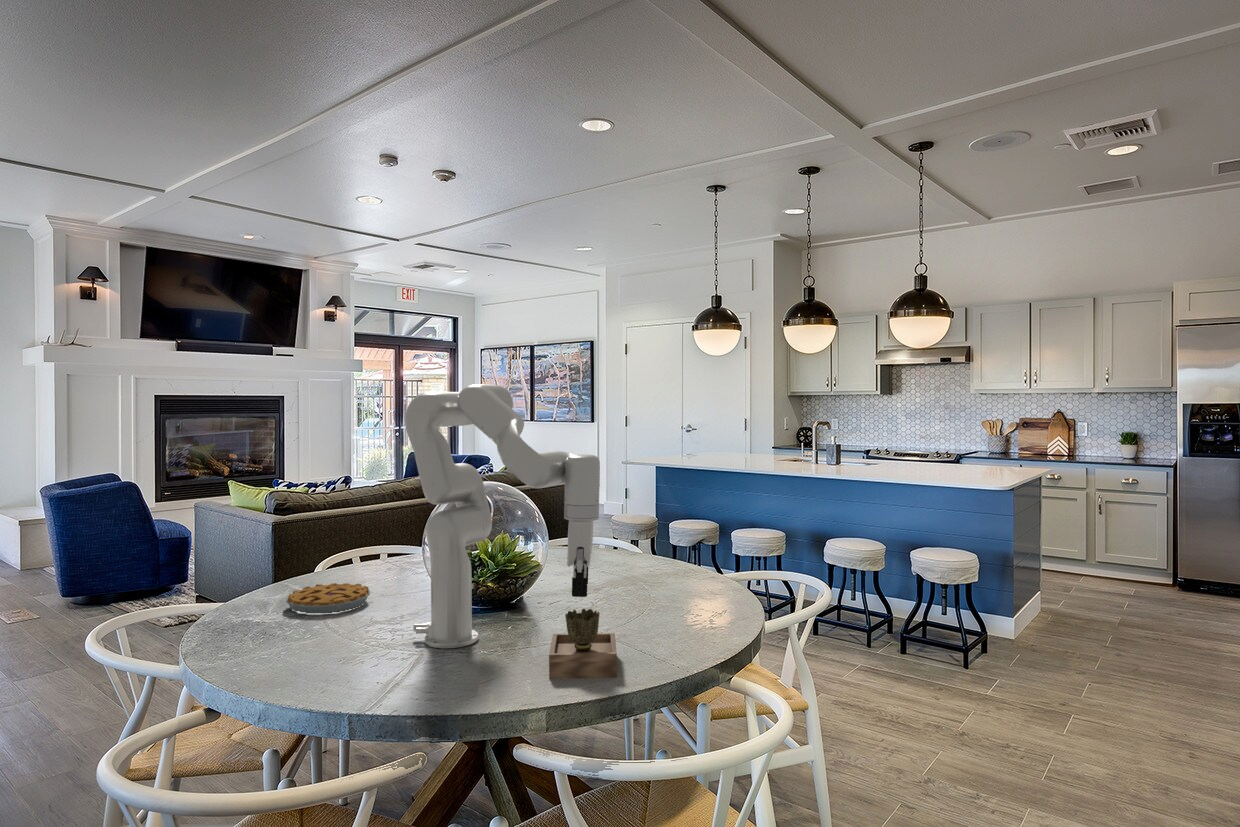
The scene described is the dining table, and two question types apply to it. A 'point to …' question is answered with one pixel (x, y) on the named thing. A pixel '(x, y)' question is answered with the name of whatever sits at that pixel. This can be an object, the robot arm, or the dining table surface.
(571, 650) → the shallow wooden tray
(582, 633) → the cup
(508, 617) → the dining table surface
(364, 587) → the pie
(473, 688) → the dining table surface
